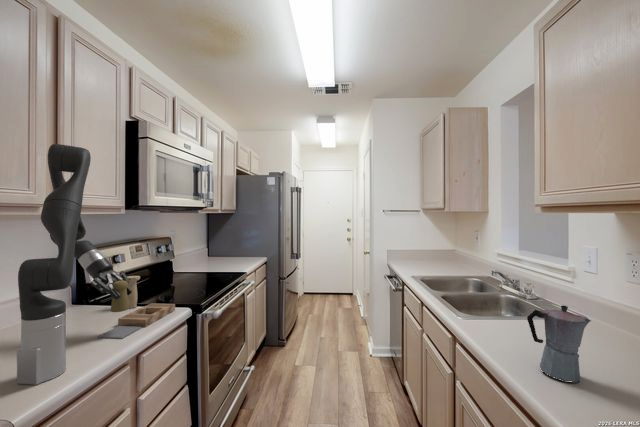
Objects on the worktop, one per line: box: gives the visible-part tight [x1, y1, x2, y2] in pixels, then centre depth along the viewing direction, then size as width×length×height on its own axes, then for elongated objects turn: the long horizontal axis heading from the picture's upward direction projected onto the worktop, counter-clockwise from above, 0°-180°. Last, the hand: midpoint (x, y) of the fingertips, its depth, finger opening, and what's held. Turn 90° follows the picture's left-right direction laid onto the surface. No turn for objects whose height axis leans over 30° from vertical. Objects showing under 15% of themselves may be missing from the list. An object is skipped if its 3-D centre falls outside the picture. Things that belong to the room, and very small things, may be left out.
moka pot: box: [526, 305, 592, 382], centre depth 82 cm, size 10×15×20 cm, turn 81°
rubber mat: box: [96, 325, 143, 340], centre depth 111 cm, size 10×10×1 cm
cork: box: [110, 280, 130, 313], centre depth 111 cm, size 6×6×11 cm
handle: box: [126, 275, 141, 309], centre depth 140 cm, size 5×6×15 cm
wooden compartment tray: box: [117, 302, 176, 328], centre depth 127 cm, size 20×12×3 cm, turn 175°
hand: (124, 295), depth 111 cm, fingers closed on cork, 5 cm apart
